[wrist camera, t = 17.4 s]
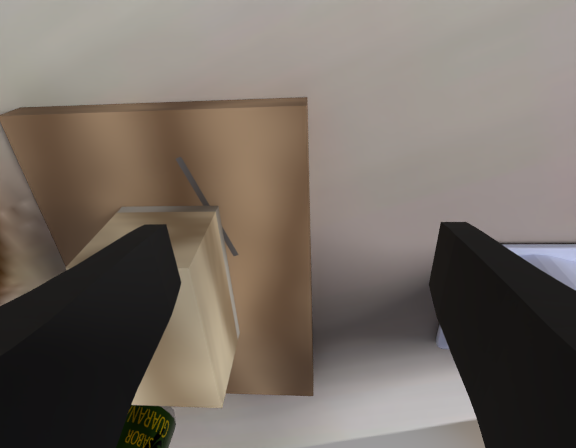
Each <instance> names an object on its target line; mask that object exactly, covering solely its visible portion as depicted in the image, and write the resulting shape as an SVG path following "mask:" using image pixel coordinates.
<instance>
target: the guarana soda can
mask: <svg viewBox="0 0 576 448" xmlns="http://www.w3.org/2000/svg"><path fill="white" fill-rule="evenodd" d="M175 425H176V422H175V414H174V410H173V409H172V408H171V406H148V405H131V406H130V409H129V412H128V415H127V418H126V421H125V423H124V426H123V429H122V432H121V435H120V438H119V441H118V444H117V446H116V448H168V447H169V444H170V441H171V438H172V435H173V432H174V429H175Z"/></svg>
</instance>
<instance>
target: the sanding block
mask: <svg viewBox="0 0 576 448" xmlns="http://www.w3.org/2000/svg"><path fill="white" fill-rule="evenodd" d="M145 224H166V225H167V229H168V233H169V237H170V240H171V244H172V248H173V252H174V256H175V260H176V264H177V268H178V272H179V275H180V279H181V286H180V290H179V293H178V297H177V301H176V304H175V307H174V310H173V313H172V316H171V318H170V320H169V323H168V325H167V327H166V329H165V332H164V334H163V336H162V338H161V340H160V342H159V345H158V347H157V349H156V351H155V353H154V355H153V357H152V360H151V362H150V364H149V366H148V368H147V370H146V372H145V375H144V377H143V379H142V381H141V383H140V385H139V387H138V390H137V392H136V394H135V397H134V399H133V402H132V404H131V405H148V406H177V407H206V408H222V407H223V402H224V398H225V394H226V389H227V385H228V381H229V376H230V372H231V368H232V364H233V359H234V355H235V351H236V346H237V342H238V338H239V333H240V331H239V325H238V319H237V313H236V308H235V302H234V296H233V290H232V284H231V278H230V272H229V266H228V260H227V254H226V248H225V242H224V236H223V230H222V224H221V218H220V212H219V206H143V207H121V209H120V210H119V211H118V212H117V213H116V214H115V215H114V216H113V217H112V218H111V219H110V220H109V221H108V223H107V224H106V225H105V226H104V227H103V228H102V229H101V230H100V231H99V232H98V233H97V234H96V235H95V237H94V238H93V239H92V240H91V241H90V242H89V243H88V244H87V245H86V246H85V247H84V248H83V249H82V251H81V252H80V253H79V254H78V255H77V256H76V257H75V258H74V259H73V260H72V261H71V262H70V263H69V265H68V266H67V267H66V270H68V269H70V268H72V267H74V266H75V265H77V264H79V263H80V262H82V261H84V260H85V259H87V258H88V257H90V256H92V255H93V254H95V253H97V252H98V251H100V250H101V249H103V248H105V247H106V246H108V245H110V244H111V243H113V242H114V241H116V240H118V239H119V238H121V237H123V236H124V235H126V234H128V233H129V232H131V231H133V230H135V229H136V228H138V227H140V226H143V225H145Z"/></svg>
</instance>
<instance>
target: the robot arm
mask: <svg viewBox="0 0 576 448" xmlns="http://www.w3.org/2000/svg"><path fill="white" fill-rule="evenodd" d="M180 286H181V279H180V275H179V272H178V268H177V264H176V260H175V256H174V252H173V248H172V244H171V240H170V237H169V233H168V229H167V225H166V224H145V225H143V226H140V227H138V228H136V229H135V230H133V231H131V232H129V233H128V234H126V235H124V236H123V237H121V238H119V239H118V240H116V241H114V242H113V243H111V244H110V245H108V246H106V247H105V248H103V249H101V250H100V251H98V252H97V253H95V254H93V255H92V256H90V257H88V258H87V259H85V260H84V261H82V262H80V263H79V264H77V265H75V266H74V267H72V268H70V269H68V270H67V271H65V272H63V273H61V274H60V275H58V276H56V277H54V278H53V279H51V280H49V281H47V282H46V283H44V284H42V285H41V286H39V287H37V288H35V289H33V290H31V291H30V292H28V293H26V294H24V295H22V296H20V297H18V298H16V299H14V300H12V301H10V302H8V303H6V304H4V305H2V306H0V448H116V446H117V444H118V441H119V438H120V435H121V432H122V429H123V426H124V423H125V421H126V418H127V415H128V412H129V409H130V406H131V404H132V402H133V399H134V397H135V394H136V392H137V390H138V387H139V385H140V383H141V381H142V379H143V377H144V375H145V372H146V370H147V368H148V366H149V364H150V362H151V360H152V357H153V355H154V353H155V351H156V349H157V347H158V345H159V342H160V340H161V338H162V336H163V334H164V332H165V329H166V327H167V325H168V323H169V320H170V318H171V316H172V313H173V310H174V307H175V304H176V301H177V297H178V293H179V290H180ZM429 287H430V291H431V295H432V299H433V304H434V307H435V311H436V315H437V319H438V321H439V328H438V333H437V337H436V343H437V346H438V347H439V348H441V349H450V351H451V354H452V356H453V359H454V361H455V364H456V366H457V369H458V371H459V374H460V376H461V378H462V381H463V383H464V386H465V388H466V391H467V393H468V396H469V398H470V401H471V403H472V406H473V409H474V412H475V415H476V417H477V420H478V424H479V427H480V431H481V434H482V437H483V441H484V444H485V448H576V244H500V243H499V242H497V241H496V240H494V239H493V238H491V237H490V236H488V235H487V234H485V233H484V232H482V231H480V230H479V229H477V228H476V227H474V226H472V225H470V224H469V223H467V222H441V224H440V229H439V235H438V240H437V245H436V250H435V256H434V261H433V266H432V271H431V276H430V282H429Z"/></svg>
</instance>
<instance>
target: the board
mask: <svg viewBox="0 0 576 448" xmlns="http://www.w3.org/2000/svg"><path fill="white" fill-rule="evenodd" d="M0 122H1V124H2V127H3V129H4V131H5V133H6V135H7V138H8V140H9V142H10V144H11V147H12V149H13V151H14V153H15V155H16V158H17V160H18V162H19V164H20V166H21V169H22V171H23V173H24V175H25V177H26V180H27V182H28V184H29V186H30V188H31V191H32V193H33V195H34V197H35V200H36V202H37V204H38V206H39V208H40V211H41V213H42V215H43V217H44V219H45V222H46V224H47V226H48V228H49V230H50V233H51V235H52V237H53V239H54V241H55V244H56V246H57V248H58V250H59V253H60V255H61V257H62V259H63V261H64V264H65V266H66V267H67V266H68V265H69V263H70V262H71V261H72V260H73V259H74V258H75V257H76V256H77V255H78V254H79V253H80V252H81V251H82V249H83V248H84V247H85V246H86V245H87V244H88V243H89V242H90V241H91V240H92V239H93V238H94V237H95V235H96V234H97V233H98V232H99V231H100V230H101V229H102V228H103V227H104V226H105V225H106V224H107V223H108V221H109V220H110V219H111V218H112V217H113V216H114V215H115V214H116V213H117V212H118V211H119V210H120V209H121V207H143V206H219V212H220V218H221V224H222V230H223V236H224V242H225V248H226V254H227V260H228V266H229V272H230V278H231V284H232V290H233V296H234V302H235V308H236V313H237V319H238V325H239V331H240V333H239V338H238V342H237V346H236V351H235V355H234V359H233V364H232V368H231V372H230V376H229V381H228V385H227V389H226V393H230V394H262V395H295V396H313V334H312V289H311V244H310V199H309V154H308V109H307V97H304V98H276V99H248V100H220V101H192V102H164V103H136V104H108V105H80V106H52V107H24V108H18V109H15V110H13V111H10V112H7V113H5V114H2V115H0Z"/></svg>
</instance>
